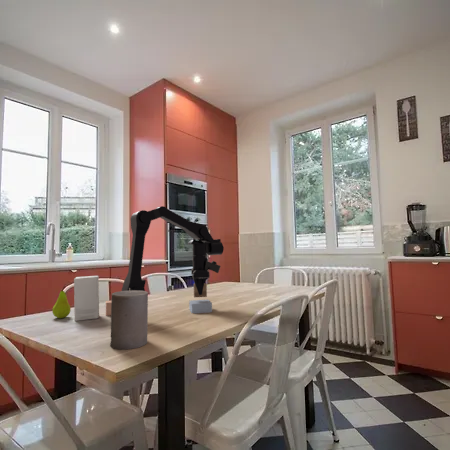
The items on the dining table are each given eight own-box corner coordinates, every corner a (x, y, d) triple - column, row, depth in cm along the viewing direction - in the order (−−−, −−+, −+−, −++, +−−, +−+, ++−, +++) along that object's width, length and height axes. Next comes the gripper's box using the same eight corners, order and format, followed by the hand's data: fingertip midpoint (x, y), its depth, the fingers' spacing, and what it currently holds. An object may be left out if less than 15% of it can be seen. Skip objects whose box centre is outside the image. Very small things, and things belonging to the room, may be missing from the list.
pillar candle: (102, 347, 80) (103, 289, 81) (127, 336, 89) (128, 284, 90) (131, 352, 76) (132, 291, 77) (155, 340, 85) (155, 286, 86)
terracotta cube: (119, 314, 121) (119, 301, 121) (105, 316, 119) (106, 302, 119) (118, 312, 125) (118, 299, 126) (105, 313, 123) (105, 301, 124)
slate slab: (212, 312, 122) (211, 302, 122) (192, 314, 120) (191, 303, 120) (208, 309, 129) (208, 299, 130) (189, 310, 127) (189, 300, 128)
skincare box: (99, 315, 119) (99, 275, 121) (98, 319, 113) (98, 276, 114) (75, 317, 117) (76, 276, 118) (73, 321, 110) (73, 277, 112)
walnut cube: (206, 296, 123) (206, 284, 123) (194, 297, 122) (194, 284, 122) (205, 295, 128) (205, 283, 128) (193, 295, 127) (193, 283, 127)
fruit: (48, 319, 115) (48, 286, 116) (63, 315, 121) (64, 284, 121) (59, 320, 112) (59, 287, 113) (74, 317, 118) (74, 285, 119)
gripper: (222, 255, 118) (222, 296, 117) (216, 254, 137) (216, 290, 135) (193, 256, 116) (193, 297, 115) (191, 255, 135) (191, 291, 134)
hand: (200, 293), depth 125 cm, fingers closed on walnut cube, 5 cm apart
